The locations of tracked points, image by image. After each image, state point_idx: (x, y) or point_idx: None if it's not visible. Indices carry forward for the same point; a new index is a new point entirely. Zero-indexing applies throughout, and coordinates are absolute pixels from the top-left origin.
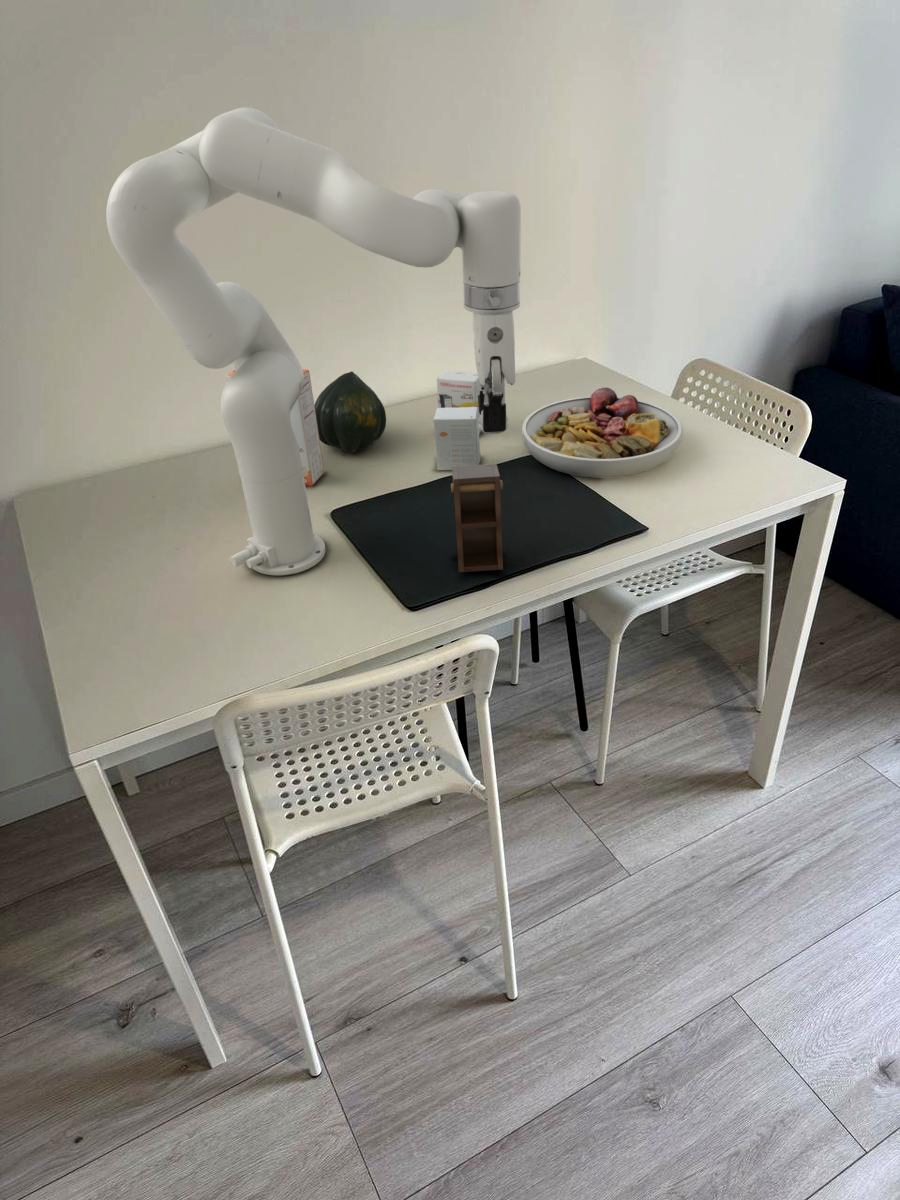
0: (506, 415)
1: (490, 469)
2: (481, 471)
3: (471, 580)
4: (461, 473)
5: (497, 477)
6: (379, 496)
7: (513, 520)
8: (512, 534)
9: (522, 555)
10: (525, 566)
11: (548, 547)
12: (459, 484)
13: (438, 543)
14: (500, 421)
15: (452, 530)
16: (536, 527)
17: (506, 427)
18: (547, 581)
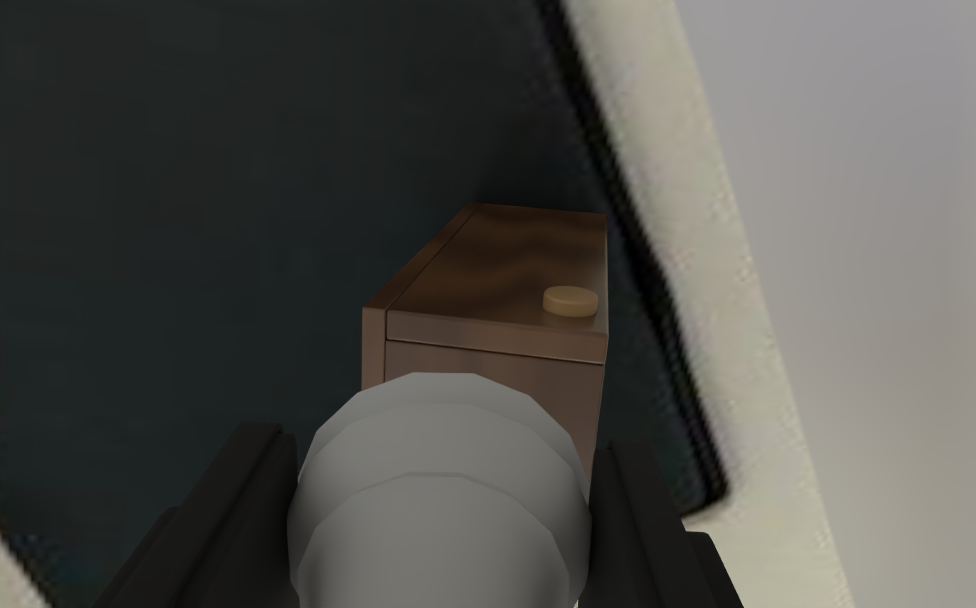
0: (430, 432)
1: (464, 362)
2: None
3: None
4: None
5: (605, 346)
6: (9, 547)
7: (216, 106)
8: (325, 128)
9: (484, 117)
10: (562, 120)
11: (445, 2)
12: None
13: (354, 392)
14: (718, 563)
15: (270, 339)
16: (282, 20)
17: (525, 402)
18: (680, 57)
